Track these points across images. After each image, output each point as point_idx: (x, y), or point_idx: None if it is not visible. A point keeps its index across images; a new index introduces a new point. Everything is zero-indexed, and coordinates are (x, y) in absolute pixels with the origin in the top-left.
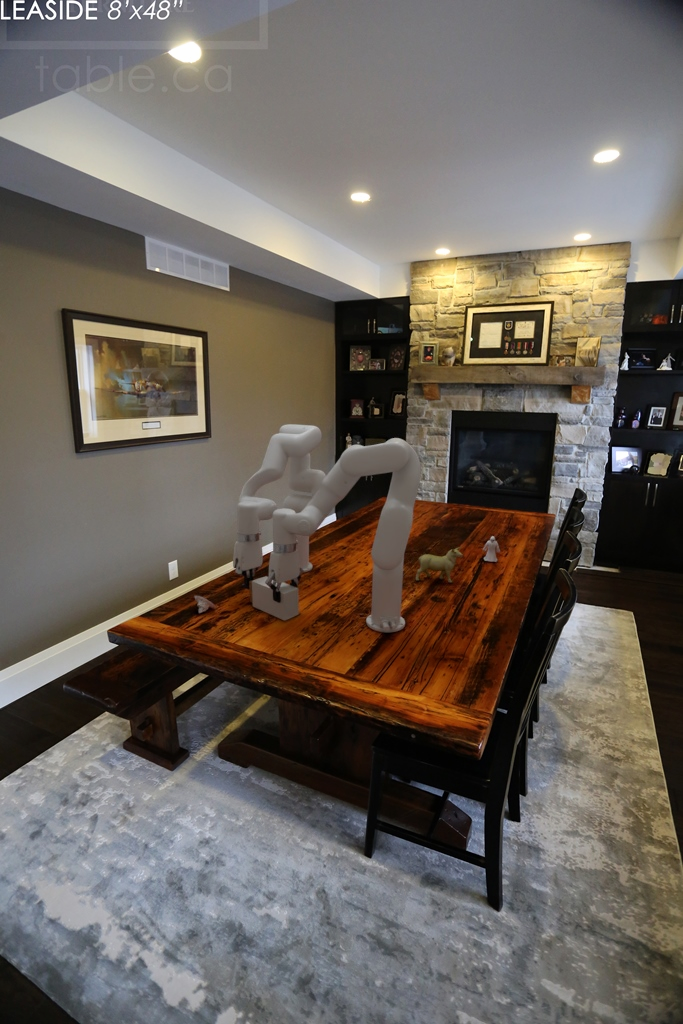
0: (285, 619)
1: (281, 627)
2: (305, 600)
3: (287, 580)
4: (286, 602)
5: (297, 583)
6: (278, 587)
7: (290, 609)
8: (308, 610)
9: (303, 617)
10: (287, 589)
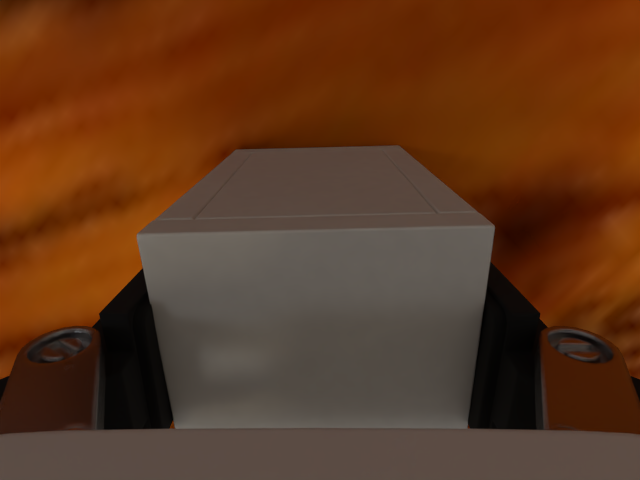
0: (391, 146)
1: (497, 74)
2: (36, 305)
3: (388, 431)
4: (403, 183)
5: (69, 340)
6: (590, 375)
7: (334, 161)
8: (118, 156)
9: (235, 82)
10: (318, 320)
